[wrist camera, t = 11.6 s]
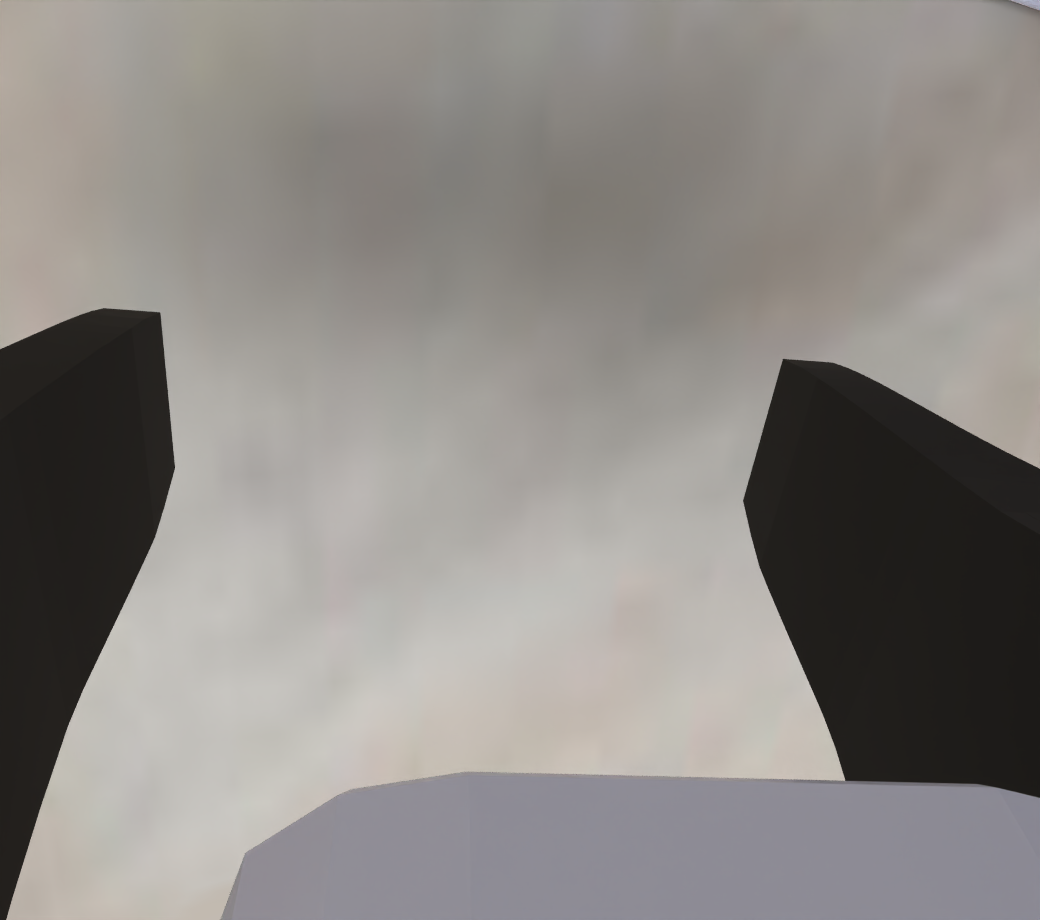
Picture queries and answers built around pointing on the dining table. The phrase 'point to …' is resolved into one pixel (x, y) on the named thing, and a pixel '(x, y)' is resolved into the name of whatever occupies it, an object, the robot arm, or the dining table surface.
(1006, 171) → the dining table surface
